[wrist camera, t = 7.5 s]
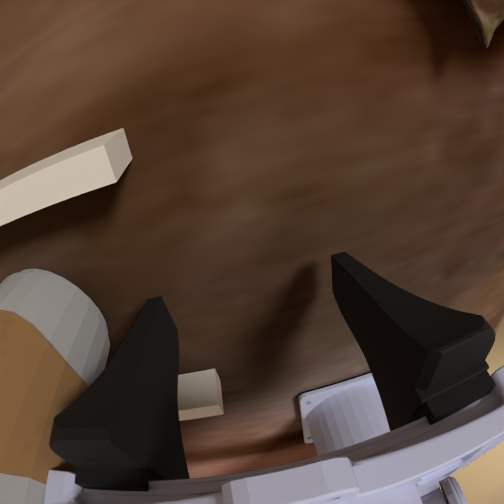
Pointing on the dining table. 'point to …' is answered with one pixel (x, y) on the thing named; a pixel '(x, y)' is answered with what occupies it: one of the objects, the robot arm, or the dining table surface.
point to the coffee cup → (42, 373)
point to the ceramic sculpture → (485, 17)
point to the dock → (81, 181)
